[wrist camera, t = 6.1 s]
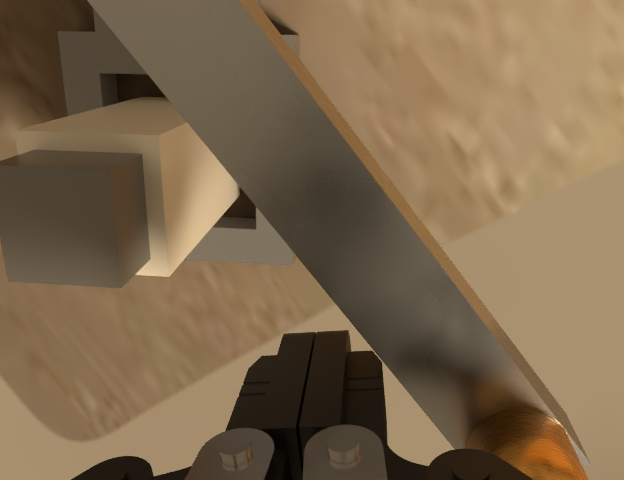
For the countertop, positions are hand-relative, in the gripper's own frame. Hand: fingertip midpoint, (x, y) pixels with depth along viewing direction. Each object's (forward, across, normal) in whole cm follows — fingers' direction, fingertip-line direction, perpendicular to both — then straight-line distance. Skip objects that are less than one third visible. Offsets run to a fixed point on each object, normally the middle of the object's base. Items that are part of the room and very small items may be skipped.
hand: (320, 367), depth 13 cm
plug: (+12, +6, -4) cm, 14 cm away
